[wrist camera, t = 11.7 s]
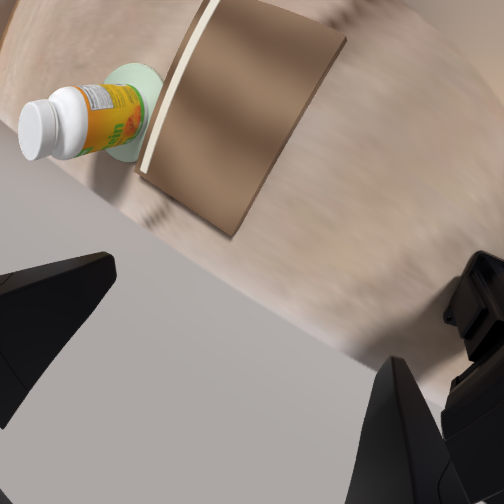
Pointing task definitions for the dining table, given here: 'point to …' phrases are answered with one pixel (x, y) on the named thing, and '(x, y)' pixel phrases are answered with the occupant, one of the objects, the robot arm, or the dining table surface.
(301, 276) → the dining table surface
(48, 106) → the supplement bottle
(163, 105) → the walnut board
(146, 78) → the end pad
